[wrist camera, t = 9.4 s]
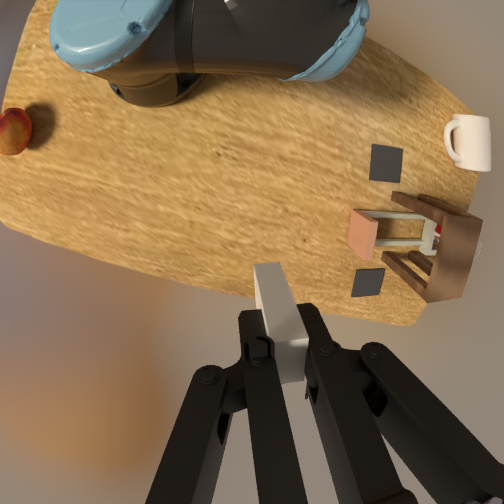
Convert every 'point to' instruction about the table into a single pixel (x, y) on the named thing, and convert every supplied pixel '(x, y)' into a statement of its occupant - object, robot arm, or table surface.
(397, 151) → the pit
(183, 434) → the robot arm
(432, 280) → the brown tall open frame
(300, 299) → the table surface
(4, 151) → the fruit
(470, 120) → the mug
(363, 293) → the dark grey flat tile
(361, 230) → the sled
